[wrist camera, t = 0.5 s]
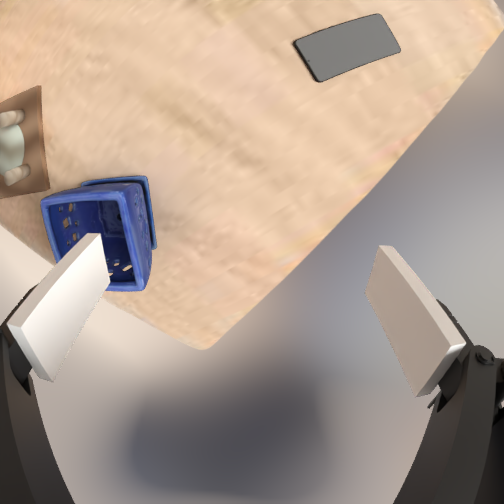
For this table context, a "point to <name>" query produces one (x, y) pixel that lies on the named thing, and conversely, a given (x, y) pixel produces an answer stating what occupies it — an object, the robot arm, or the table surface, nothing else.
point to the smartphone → (347, 46)
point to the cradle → (22, 145)
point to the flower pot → (107, 226)
